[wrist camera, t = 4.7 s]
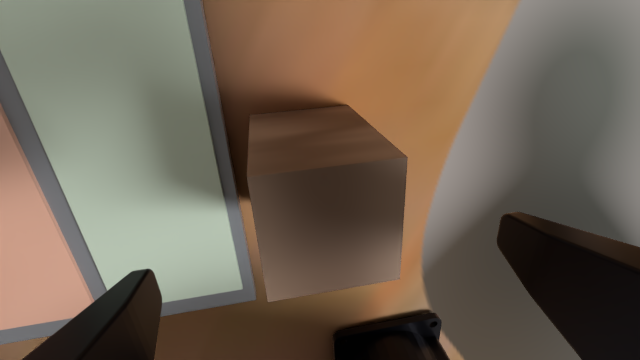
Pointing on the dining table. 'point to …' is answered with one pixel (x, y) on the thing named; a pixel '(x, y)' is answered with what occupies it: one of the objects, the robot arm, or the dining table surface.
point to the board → (112, 161)
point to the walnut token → (324, 201)
